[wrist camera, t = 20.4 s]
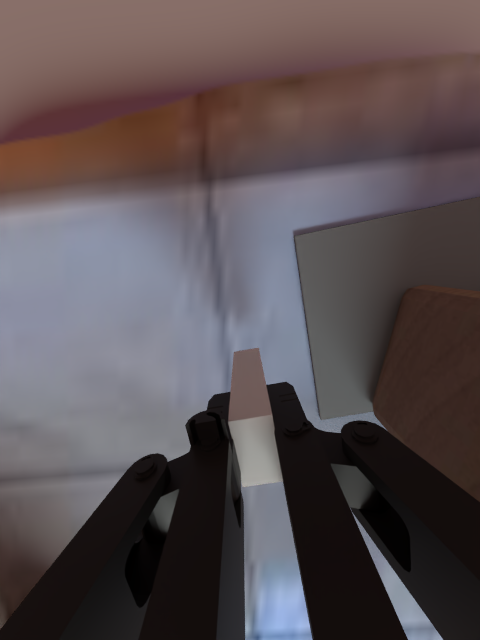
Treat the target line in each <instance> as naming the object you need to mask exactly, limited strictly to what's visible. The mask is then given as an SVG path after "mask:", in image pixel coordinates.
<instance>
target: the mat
mask: <svg viewBox="0 0 480 640" xmlns="http://www.w3.org/2000/svg"><path fill="white" fill-rule="evenodd" d="M294 241H295V248H296V255H297V262H298V269H299V276H300V283H301V290H302V297H303V304H304V311H305V318H306V325H307V331H308V338H309V345H310V352H311V359H312V366H313V373H314V380H315V387H316V394H317V401H318V408H319V415H320V419H321V420H324V419H330V418H336V417H342V416H348V415H355V414H361V413H367V412H373V405H372V401H373V397H374V394H375V390H376V387H377V383H378V380H379V376H380V373H381V369H382V366H383V362H384V359H385V355H386V351H387V348H388V344H389V341H390V337H391V334H392V330H393V327H394V323H395V320H396V316H397V313H398V309H399V306H400V302H401V299H402V296H403V295H404V293H405V292H406V290H407V289H409V288H413V287H417V286H420V285H432V286H440V287H448V288H456V289H464V290H472V291H480V197H476V198H472V199H467V200H462V201H458V202H453V203H448V204H443V205H439V206H434V207H429V208H425V209H420V210H415V211H411V212H406V213H401V214H396V215H392V216H387V217H382V218H378V219H373V220H368V221H363V222H359V223H354V224H349V225H345V226H340V227H335V228H330V229H326V230H321V231H316V232H312V233H307V234H302V235H298V236H294Z"/></svg>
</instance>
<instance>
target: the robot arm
mask: <svg viewBox="0 0 480 640" xmlns="http://www.w3.org/2000/svg"><path fill="white" fill-rule="evenodd" d="M185 426H186V430H187V433H188V437H189V441H190V444H191V448H190V452H188V453H187V454H185V455H183V456H181V457H179V458H176V459H174V460H171V461H169V462H167V459H166V457H165V456H164V455H162V454H158V453H157V454H150V455H147V456H145V457H142V458H141V459H139V460H138V461H136V462H135V463H134V464H133V465H132V466H131V467H130V468H129V469H128V470H127V471H126V472H125V474H124V475H123V476H122V477H121V479H120V480H119V481H118V482H117V484H116V485H115V486H114V487H113V489H112V490H111V491H110V492H109V494H108V495H107V496H106V498H105V499H104V500H103V501H102V503H101V504H100V505H99V506H98V508H97V509H96V510H95V511H94V513H93V514H92V515H91V516H90V518H89V519H88V520H87V521H86V523H85V524H84V525H83V526H82V528H81V529H80V530H79V531H78V533H77V534H76V535H75V536H74V538H73V539H72V540H71V541H70V543H69V544H68V545H67V546H66V548H65V549H64V550H63V552H62V553H61V554H60V555H59V557H58V558H57V559H56V560H55V562H54V563H53V564H52V565H51V567H50V568H49V569H48V570H47V572H46V573H45V574H44V575H43V577H42V578H41V579H40V580H39V582H38V583H37V584H36V585H35V587H34V588H33V589H32V590H31V592H30V593H29V594H28V595H27V597H26V598H25V599H24V600H23V602H22V603H21V604H20V605H19V607H18V608H17V609H16V611H15V612H14V613H13V614H12V616H11V617H10V618H9V619H8V621H7V622H6V623H5V624H4V626H3V627H2V628H1V629H0V640H245V592H244V505H243V498H242V493H241V481H242V486H243V487H248V486H254V485H261V484H268V483H275V482H282V481H283V484H284V489H285V495H286V500H287V506H288V512H289V516H290V522H291V527H292V532H293V538H294V543H295V548H296V554H297V559H298V564H299V570H300V575H301V580H302V586H303V591H304V596H305V601H306V607H307V612H308V617H309V623H310V628H311V633H312V639H313V640H408V639H407V637H406V634H405V632H404V630H403V628H402V625H401V623H400V621H399V618H398V616H397V614H396V612H395V609H394V607H393V605H392V603H391V600H390V598H389V596H388V594H387V591H386V589H385V587H384V584H383V582H382V580H381V578H380V575H379V573H378V571H377V569H376V566H375V564H374V562H373V559H372V557H371V555H370V553H369V550H368V548H367V546H366V544H365V541H364V539H363V537H362V535H361V532H360V530H359V528H358V525H357V523H356V521H355V519H354V516H353V514H354V515H355V516H356V518H357V519H358V521H359V522H360V523H361V525H362V526H363V528H364V529H365V530H366V532H367V533H368V535H369V536H370V537H371V539H372V540H373V542H374V543H375V544H376V546H377V547H378V549H379V550H380V551H381V553H382V554H383V556H384V557H385V558H386V560H387V561H388V563H389V564H390V565H391V567H392V568H393V570H394V571H395V572H396V574H397V575H398V577H399V578H400V579H401V581H402V582H403V584H404V585H405V586H406V588H407V589H408V591H409V592H410V593H411V595H412V596H413V598H414V599H415V600H416V602H417V603H418V605H419V606H420V607H421V609H422V610H423V612H424V613H425V614H426V616H427V617H428V619H429V620H430V622H431V623H432V624H433V626H434V627H435V629H436V630H437V631H438V633H439V634H440V636H441V637H442V638H443V640H480V502H479V501H478V500H476V499H475V498H474V497H473V496H471V495H470V494H469V493H467V492H466V491H465V490H463V489H462V488H461V487H460V486H458V485H457V484H456V483H454V482H453V481H452V480H450V479H449V478H448V477H446V476H445V475H444V474H443V473H441V472H440V471H439V470H437V469H436V468H435V467H433V466H432V465H431V464H429V463H428V462H427V461H426V460H424V459H423V458H422V457H420V456H419V455H418V454H416V453H415V452H414V451H413V450H411V449H410V448H409V447H407V446H406V445H405V444H403V443H402V442H401V441H399V440H398V439H397V438H396V437H394V436H393V435H392V434H390V433H389V432H388V431H386V430H385V429H384V428H382V427H380V426H379V425H377V424H375V423H371V422H368V421H352V422H349V423H347V424H345V425H344V426H343V428H342V429H341V433H332V432H325V431H321V430H318V429H316V428H315V427H314V426H313V425H312V423H311V422H310V421H308V420H307V418H306V416H305V413H304V411H303V409H302V406H301V404H300V402H299V399H298V397H297V395H296V392H295V390H294V387H293V386H292V385H290V384H289V383H288V382H282V383H276V384H270V385H266V382H265V377H264V372H263V367H262V362H261V357H260V352H259V348H254V349H248V350H242V351H237V352H234V357H233V369H232V381H231V392H227V393H221V394H215V395H214V396H213V397H212V398H211V399H210V400H209V402H208V407H207V410H206V411H203V412H200V413H198V414H196V415H194V416H193V417H192V418H190V419H189V420H188V422H187V423H186V425H185ZM350 508H351V510H352V512H353V514H352V512H351V510H350Z"/></svg>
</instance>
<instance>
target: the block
mask: <svg viewBox="0 0 480 640" xmlns="http://www.w3.org/2000/svg"><path fill="white" fill-rule="evenodd" d="M372 405H373V411H374V415H375V416H376V418H377V419H378V420H379V421H380V422H381V424H382V425H383V426H384V427H385V428H386V429H387V431H388V432H389V433H390V434H392V435H393V436H394V437H396V438H397V439H398V440H399V441H401V442H402V443H403V444H405V445H406V446H407V447H409V448H410V449H411V450H413V451H414V452H415V453H416V454H418V455H419V456H420V457H422V458H423V459H424V460H426V461H427V462H428V463H429V464H431V465H432V466H433V467H435V468H436V469H437V470H439V471H440V472H441V473H443V474H444V475H445V476H446V477H448V478H449V479H450V480H452V481H453V482H454V483H456V484H457V485H458V486H460V487H461V488H462V489H463V490H465V491H466V492H467V493H469V494H470V495H471V496H473V497H474V498H475V499H476V500H478V501H479V502H480V291H472V290H464V289H456V288H448V287H440V286H432V285H420V286H417V287H413V288H409V289H407V290H406V292H405V293H404V295H403V296H402V299H401V302H400V306H399V309H398V313H397V316H396V320H395V323H394V327H393V330H392V334H391V337H390V341H389V344H388V348H387V351H386V355H385V359H384V362H383V366H382V369H381V373H380V376H379V380H378V383H377V387H376V390H375V394H374V397H373V401H372Z"/></svg>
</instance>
